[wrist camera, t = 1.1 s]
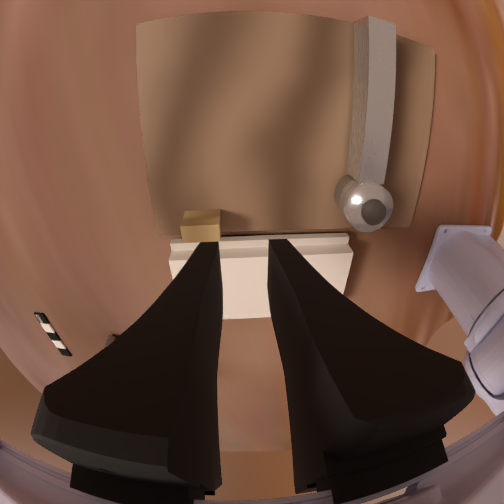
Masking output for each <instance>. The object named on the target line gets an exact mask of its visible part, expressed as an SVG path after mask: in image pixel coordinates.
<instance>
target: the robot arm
mask: <svg viewBox="0 0 504 504" xmlns="http://www.w3.org/2000/svg"><path fill="white" fill-rule="evenodd" d="M491 231H492V228H491V227H490V226H482V225H440V226H438V228H437V230H436V233H435V236H434V239H433V242H432V245H431V248H430V251H429V254H428V256H427V259H426V262H425V264H424V267H423V269H422V272H421V274H420V277H419V279H418V282H417V284H416V286H415V290H416V291H417V292H421V291H428V290H434V289H436V290H437V292H438V293H439V295H440V296H441V297H442V299H443V300H444V302H445V303H446V305H447V306H448V307H449V309H450V310H451V312H452V313H453V315H454V316H455V318H456V319H457V321H458V323H459V324H460V325H461V327H462V329H463V330H464V332H465V333H466V335H467V337H468V338H467V339H466V340H465V342H464V344H465V346H466V347H467V349H468V351H467V352H466V353H465V357H464V362H465V363H464V367H463V365H462V363H461V362H460V361H457V360H455V359H452V358H450V357H448V356H445V355H443V354H440V353H438V352H435V351H433V350H431V349H429V348H427V347H424V346H423V345H421V344H419V343H417V342H415V341H413V340H411V339H409V338H407V337H405V336H403V335H402V334H400V333H398V332H396V331H395V330H393V329H391V328H390V327H388V326H386V325H385V324H383V323H382V322H380V321H379V320H377V319H375V318H374V317H372V316H371V315H369V314H368V313H367V312H365V311H364V310H362V309H361V308H360V307H358V306H357V305H356V304H354V303H353V302H352V301H350V300H349V299H348V298H347V297H345V296H344V295H343V294H342V293H341V292H339V291H338V290H337V289H336V288H335V287H334V286H333V285H331V284H330V283H329V282H328V281H327V280H326V279H325V278H324V277H323V276H322V275H321V274H320V273H319V272H318V271H317V270H316V269H315V268H314V267H313V266H312V265H311V264H310V263H309V262H308V261H307V260H306V259H305V258H304V257H303V256H302V255H301V254H300V252H299V251H298V250H297V249H296V248H295V247H294V246H293V245H292V244H291V243H290V242H289V240H288V239H269V244H268V275H267V290H268V299H269V308H270V314H271V318H272V323H273V327H274V331H275V335H276V340H277V344H278V348H279V352H280V356H281V361H282V365H283V370H284V376H285V384H286V392H287V401H288V410H289V420H290V431H291V442H292V455H293V470H294V486H295V493H296V494H299V493H305V492H311V491H317V493H311V494H305V495H299V496H292V497H284V498H275V499H264V500H247V501H246V500H245V501H211V500H209V501H208V500H205V495H215V490H216V489H217V488H218V487H220V485H222V477H221V465H220V451H219V433H218V407H217V369H218V358H219V348H220V338H221V329H222V319H223V284H222V273H221V263H220V251H219V241H216V242H200V243H199V244H198V245H197V247H196V248H195V250H194V251H193V253H192V254H191V256H190V257H189V259H188V260H187V262H186V263H185V265H184V266H183V267H182V269H181V270H180V271H179V273H178V274H177V275H176V277H175V278H174V279H173V281H172V282H171V283H170V284H169V286H168V287H167V288H166V289H165V290H164V292H163V293H162V294H161V295H160V296H159V298H158V299H157V300H156V301H155V302H154V303H153V304H152V305H151V307H150V308H149V309H148V310H147V311H146V312H145V313H144V314H143V315H142V316H141V317H140V318H139V319H138V320H137V321H136V322H135V323H134V324H133V325H131V326H130V327H129V328H128V329H127V330H126V331H124V332H123V333H122V334H121V335H120V336H119V337H118V338H116V339H115V340H114V341H113V342H112V343H111V344H109V345H108V346H107V347H105V348H104V349H103V350H101V351H100V352H99V353H98V354H96V355H95V356H93V357H92V358H91V359H89V360H88V361H86V362H85V363H83V364H82V365H80V366H79V367H77V368H76V369H74V370H73V371H71V372H69V373H68V374H66V375H64V376H63V377H61V378H59V379H58V380H56V381H54V382H53V383H51V384H49V385H47V386H46V387H45V388H44V391H43V393H42V396H41V399H40V403H39V406H38V409H37V413H36V416H35V419H34V423H33V426H32V430H31V435H32V437H33V439H34V441H36V442H37V443H38V444H40V445H41V446H42V447H44V448H46V449H47V450H49V451H51V452H53V453H54V454H56V455H58V456H60V457H62V458H63V459H66V460H67V461H69V462H71V463H73V467H72V473H69V472H67V471H64V470H62V469H59V468H57V467H54V466H52V465H50V464H47V463H45V462H43V461H41V460H38V459H36V458H34V457H32V456H30V455H28V454H26V453H24V452H22V451H20V450H18V449H17V448H15V447H13V446H11V445H10V444H8V443H6V442H4V441H2V440H1V439H0V504H361V503H364V502H367V501H370V500H373V499H376V498H379V497H382V496H384V495H387V494H390V493H392V492H395V491H397V490H400V489H402V488H405V487H407V486H408V487H407V489H406V491H405V493H404V494H403V495H399V496H397V497H393V498H390V499H386V500H383V501H381V502H378V503H375V504H504V249H503V248H502V247H501V246H500V245H499V244H498V243H497V242H496V241H495V240H494V239H493V238H492V237H491V236H490V234H491ZM475 392H476V393H477V394H478V396H479V397H481V398H482V399H483V400H484V401H485V402H486V403H487V404H488V406H489V407H490V409H491V410H492V412H493V413H494V414H495V415H496V417H494V418H493V419H492V420H490V421H489V422H487V423H486V424H484V425H483V426H481V427H480V428H478V429H477V430H475V431H474V432H472V433H470V434H469V435H467V436H465V437H464V438H462V439H460V440H459V441H457V442H455V443H453V444H451V445H450V446H448V447H446V448H444V445H443V442H442V439H443V438H444V437H446V431H445V428H444V424H445V423H447V422H448V421H449V420H451V419H452V418H453V417H454V416H456V415H457V414H458V413H459V412H460V411H462V410H463V409H464V408H465V407H466V406H467V405H468V404H469V403H470V402H471V401H472V400H473V398H474V395H475Z"/></svg>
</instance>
